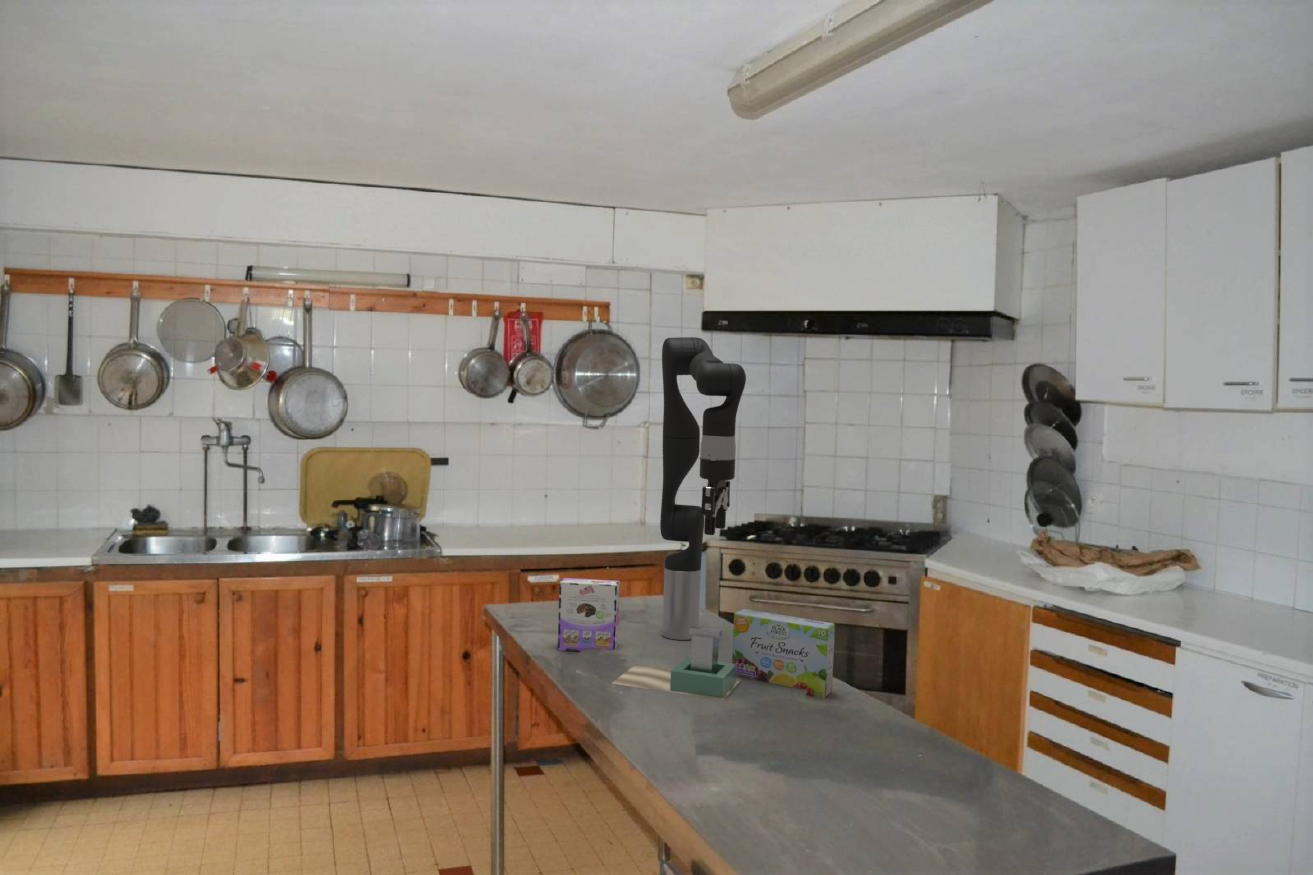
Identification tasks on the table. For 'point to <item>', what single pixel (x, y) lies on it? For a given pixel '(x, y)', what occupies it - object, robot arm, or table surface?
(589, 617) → the candy box
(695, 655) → the stepped grey pillar
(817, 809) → the table surface
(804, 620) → the snack box
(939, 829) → the table surface
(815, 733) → the table surface
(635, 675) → the board
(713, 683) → the teal hollow square frame
